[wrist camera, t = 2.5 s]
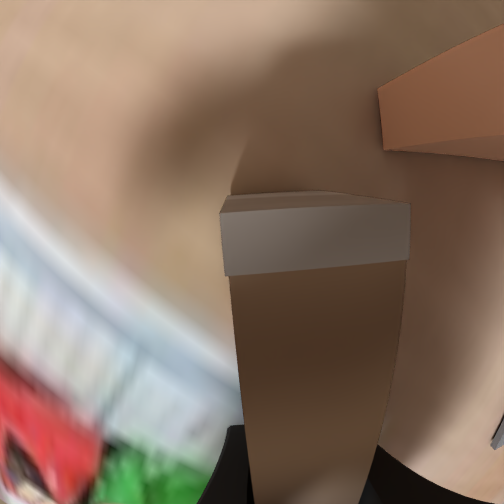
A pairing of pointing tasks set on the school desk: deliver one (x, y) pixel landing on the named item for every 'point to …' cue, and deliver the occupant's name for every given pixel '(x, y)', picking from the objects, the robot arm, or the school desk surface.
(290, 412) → the brown block
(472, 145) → the tile
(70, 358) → the school desk surface
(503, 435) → the mat
